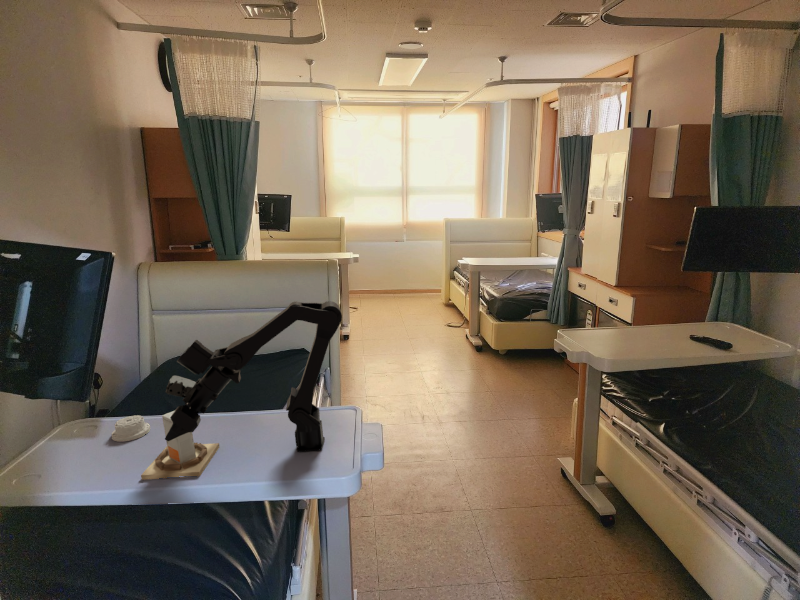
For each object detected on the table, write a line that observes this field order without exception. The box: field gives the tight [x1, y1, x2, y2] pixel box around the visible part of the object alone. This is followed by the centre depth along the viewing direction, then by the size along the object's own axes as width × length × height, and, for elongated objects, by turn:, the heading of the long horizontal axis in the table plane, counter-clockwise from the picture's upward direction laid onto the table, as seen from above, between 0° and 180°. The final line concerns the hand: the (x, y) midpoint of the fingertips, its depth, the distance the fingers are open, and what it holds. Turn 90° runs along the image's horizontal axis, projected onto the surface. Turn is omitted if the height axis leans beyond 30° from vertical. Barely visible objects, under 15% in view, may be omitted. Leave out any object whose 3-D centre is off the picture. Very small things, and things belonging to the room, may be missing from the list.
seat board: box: [140, 442, 220, 481], centre depth 126 cm, size 14×14×2 cm
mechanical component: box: [111, 414, 151, 443], centre depth 144 cm, size 10×4×10 cm
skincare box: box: [161, 410, 196, 465], centre depth 125 cm, size 6×4×12 cm
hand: (171, 431), depth 124 cm, fingers open, 9 cm apart
